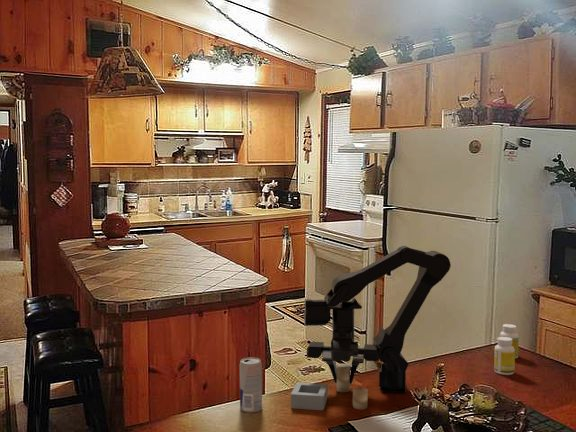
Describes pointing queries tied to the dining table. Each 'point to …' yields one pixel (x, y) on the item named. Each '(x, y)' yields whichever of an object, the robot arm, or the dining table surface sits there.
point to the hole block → (309, 396)
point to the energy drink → (250, 385)
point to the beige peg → (343, 377)
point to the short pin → (360, 398)
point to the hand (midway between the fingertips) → (343, 383)
